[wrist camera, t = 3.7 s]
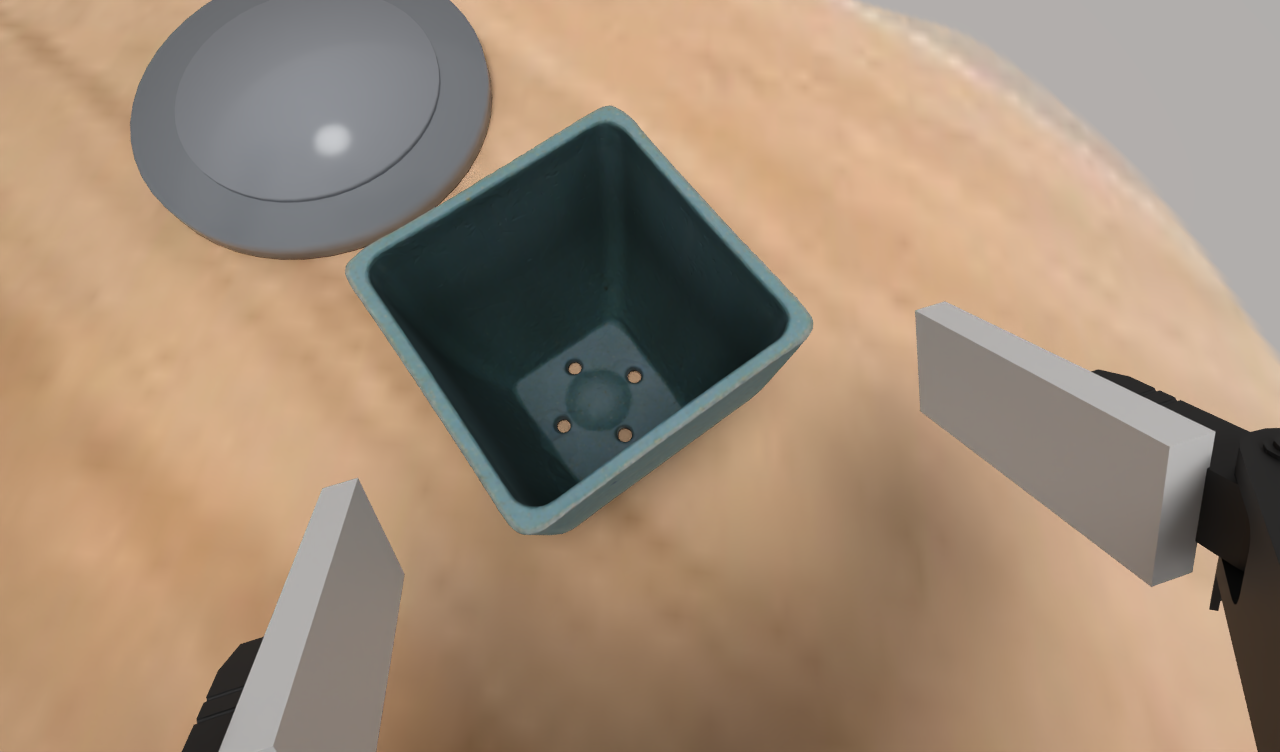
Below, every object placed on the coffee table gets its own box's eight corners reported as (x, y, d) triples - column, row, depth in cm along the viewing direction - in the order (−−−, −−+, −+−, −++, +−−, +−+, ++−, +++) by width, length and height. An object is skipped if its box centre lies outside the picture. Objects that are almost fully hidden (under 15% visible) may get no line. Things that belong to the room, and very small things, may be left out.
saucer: (76, 203, 29) (51, 184, 27) (253, -48, 33) (239, -73, 32) (405, 303, 27) (393, 287, 26) (541, 24, 32) (537, 0, 31)
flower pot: (434, 379, 26) (332, 260, 17) (623, 256, 28) (614, 94, 19) (565, 573, 23) (521, 545, 15) (763, 425, 25) (823, 325, 17)
